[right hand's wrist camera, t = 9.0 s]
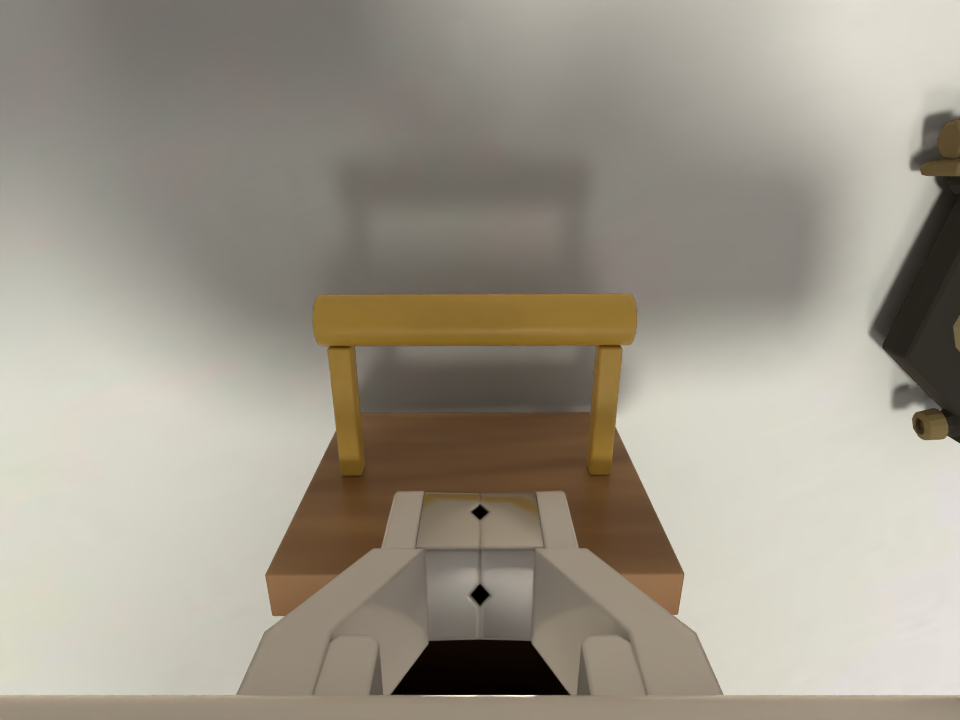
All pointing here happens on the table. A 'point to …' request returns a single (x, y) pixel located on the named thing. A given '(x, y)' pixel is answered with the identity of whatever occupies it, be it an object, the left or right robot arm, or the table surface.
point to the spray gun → (935, 311)
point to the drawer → (473, 464)
